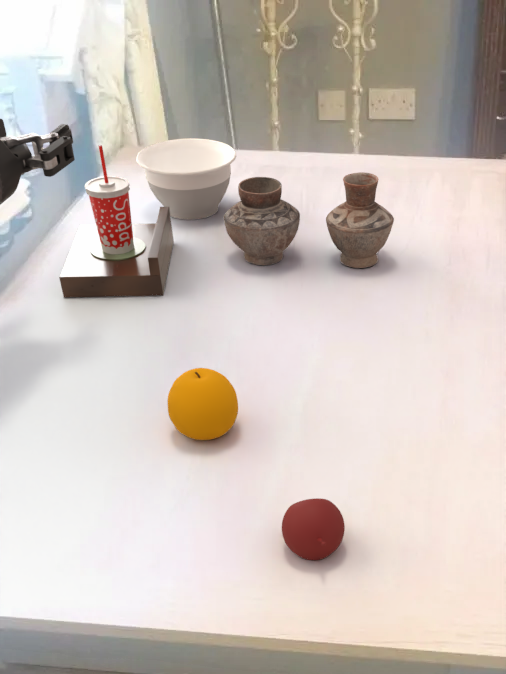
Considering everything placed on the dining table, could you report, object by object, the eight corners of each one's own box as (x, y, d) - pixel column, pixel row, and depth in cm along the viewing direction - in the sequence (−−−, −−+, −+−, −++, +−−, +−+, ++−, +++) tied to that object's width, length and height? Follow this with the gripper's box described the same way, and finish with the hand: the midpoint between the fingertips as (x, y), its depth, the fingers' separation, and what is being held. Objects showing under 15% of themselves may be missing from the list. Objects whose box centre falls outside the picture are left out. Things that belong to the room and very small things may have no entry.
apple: (224, 455, 100) (218, 397, 94) (160, 443, 101) (150, 385, 96) (250, 417, 105) (246, 360, 100) (188, 406, 107) (180, 349, 102)
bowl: (198, 183, 157) (193, 131, 151) (260, 208, 149) (256, 154, 143) (124, 209, 149) (115, 155, 143) (185, 237, 141) (178, 181, 135)
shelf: (63, 297, 127) (55, 259, 123) (83, 244, 139) (76, 207, 136) (163, 295, 127) (157, 257, 123) (173, 242, 140) (169, 206, 136)
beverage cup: (104, 260, 128) (85, 156, 118) (90, 244, 132) (71, 142, 122) (145, 251, 130) (129, 148, 120) (130, 235, 134) (114, 135, 124)
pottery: (391, 278, 131) (395, 194, 123) (221, 273, 132) (213, 189, 124) (392, 245, 139) (396, 164, 131) (232, 241, 140) (226, 160, 132)
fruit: (286, 575, 89) (289, 549, 81) (277, 521, 90) (280, 491, 83) (346, 567, 90) (355, 541, 82) (337, 514, 91) (345, 483, 83)
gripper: (20, 148, 94) (83, 100, 105) (-104, 137, 96) (-29, 91, 107) (37, 220, 99) (95, 167, 110) (-81, 208, 101) (-12, 157, 112)
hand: (34, 130), depth 108 cm, fingers open, 8 cm apart
